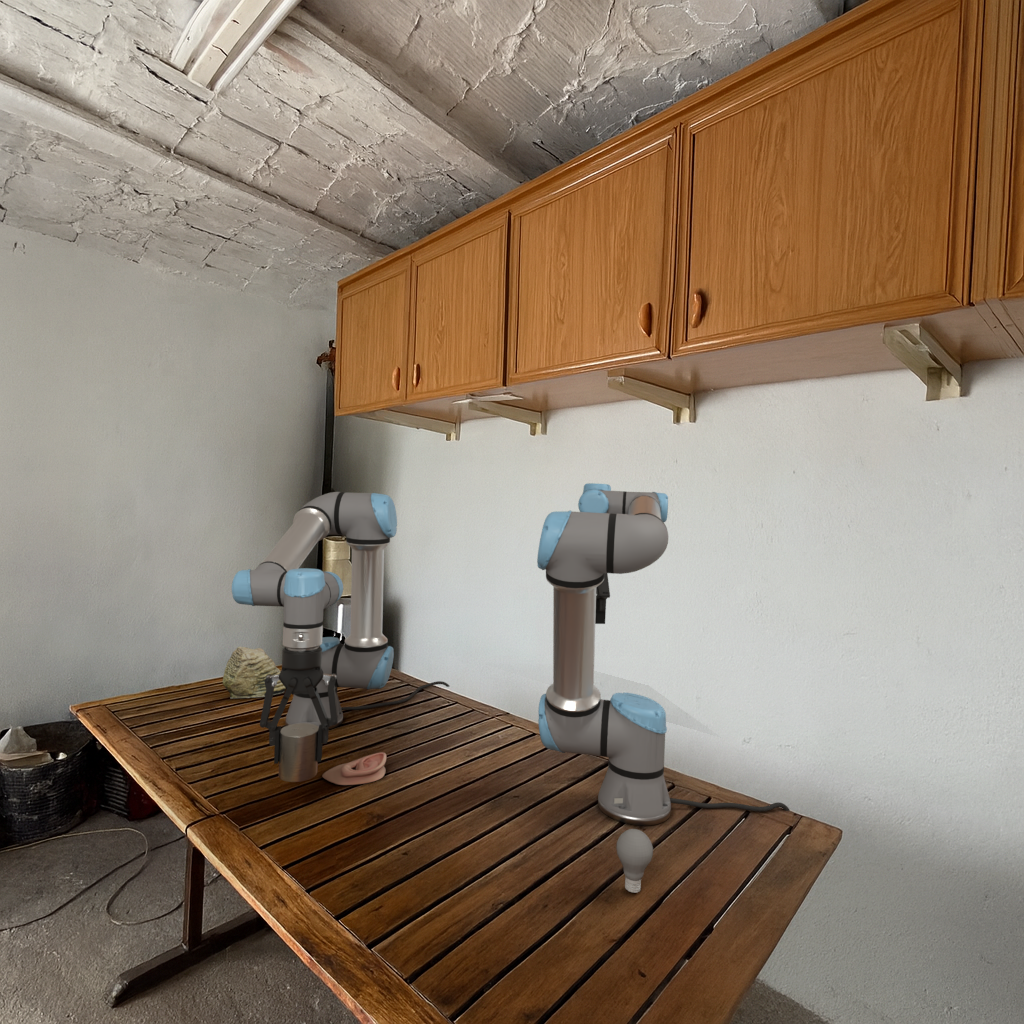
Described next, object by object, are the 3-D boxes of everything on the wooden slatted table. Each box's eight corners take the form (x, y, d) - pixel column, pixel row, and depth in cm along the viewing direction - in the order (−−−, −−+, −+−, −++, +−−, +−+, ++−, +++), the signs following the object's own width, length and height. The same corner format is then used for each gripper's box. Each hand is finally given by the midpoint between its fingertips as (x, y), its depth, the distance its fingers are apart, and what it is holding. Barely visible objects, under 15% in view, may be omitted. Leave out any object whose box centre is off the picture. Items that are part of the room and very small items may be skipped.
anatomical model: (316, 763, 140) (340, 744, 151) (315, 781, 140) (339, 761, 151) (372, 771, 137) (392, 751, 149) (371, 789, 138) (391, 768, 149)
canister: (312, 763, 132) (313, 720, 132) (321, 777, 126) (323, 733, 126) (275, 770, 128) (276, 726, 128) (282, 785, 122) (284, 739, 122)
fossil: (218, 695, 195) (220, 647, 195) (278, 685, 208) (279, 640, 207) (228, 703, 189) (230, 653, 188) (289, 692, 201) (290, 645, 201)
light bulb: (610, 879, 108) (613, 822, 108) (644, 879, 109) (647, 822, 109) (619, 902, 102) (622, 840, 102) (655, 901, 103) (658, 840, 103)
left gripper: (244, 651, 121) (240, 770, 121) (354, 651, 125) (349, 765, 125) (252, 642, 128) (248, 754, 129) (355, 642, 132) (351, 750, 133)
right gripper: (568, 537, 183) (564, 610, 183) (596, 543, 158) (593, 628, 159) (593, 537, 184) (589, 610, 185) (625, 544, 160) (621, 628, 160)
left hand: (298, 759), depth 127 cm, fingers closed on canister, 7 cm apart
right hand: (591, 618), depth 172 cm, fingers open, 13 cm apart
